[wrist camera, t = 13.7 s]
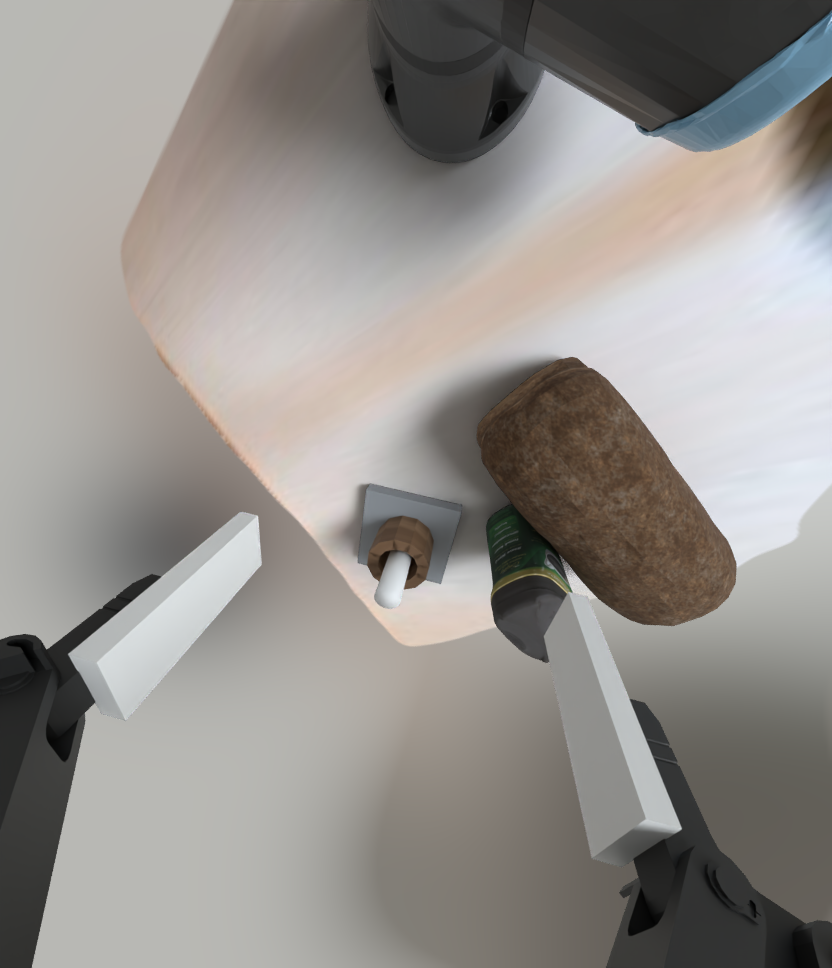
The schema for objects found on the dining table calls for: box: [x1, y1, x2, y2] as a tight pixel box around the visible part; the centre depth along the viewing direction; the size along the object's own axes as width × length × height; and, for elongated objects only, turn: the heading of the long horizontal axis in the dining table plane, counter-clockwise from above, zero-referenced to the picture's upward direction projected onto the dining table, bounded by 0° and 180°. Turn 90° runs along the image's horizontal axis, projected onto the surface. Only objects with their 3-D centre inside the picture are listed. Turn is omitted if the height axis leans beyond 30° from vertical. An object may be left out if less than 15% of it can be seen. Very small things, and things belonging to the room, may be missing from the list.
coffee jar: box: [486, 505, 573, 663], centre depth 40 cm, size 10×8×19 cm
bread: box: [477, 357, 736, 626], centre depth 36 cm, size 15×32×16 cm, turn 44°
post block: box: [358, 484, 462, 609], centre depth 45 cm, size 14×14×14 cm
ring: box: [367, 516, 434, 589], centre depth 47 cm, size 8×8×6 cm
